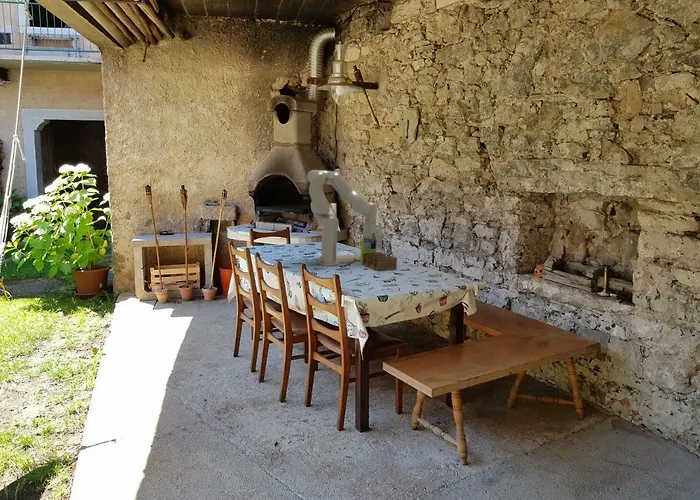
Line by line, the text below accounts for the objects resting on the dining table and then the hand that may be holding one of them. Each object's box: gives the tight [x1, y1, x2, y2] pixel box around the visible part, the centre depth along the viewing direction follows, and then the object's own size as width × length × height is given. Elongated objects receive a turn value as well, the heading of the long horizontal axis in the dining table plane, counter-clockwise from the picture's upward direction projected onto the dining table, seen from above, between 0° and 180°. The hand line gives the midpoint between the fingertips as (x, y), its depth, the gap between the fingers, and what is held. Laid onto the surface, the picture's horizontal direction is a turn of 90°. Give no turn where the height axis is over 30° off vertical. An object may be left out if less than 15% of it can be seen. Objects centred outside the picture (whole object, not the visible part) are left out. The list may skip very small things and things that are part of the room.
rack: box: [361, 251, 398, 272], centre depth 352 cm, size 18×14×8 cm
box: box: [360, 236, 378, 263], centre depth 366 cm, size 10×4×17 cm, turn 119°
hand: (369, 247), depth 366 cm, fingers open, 9 cm apart
